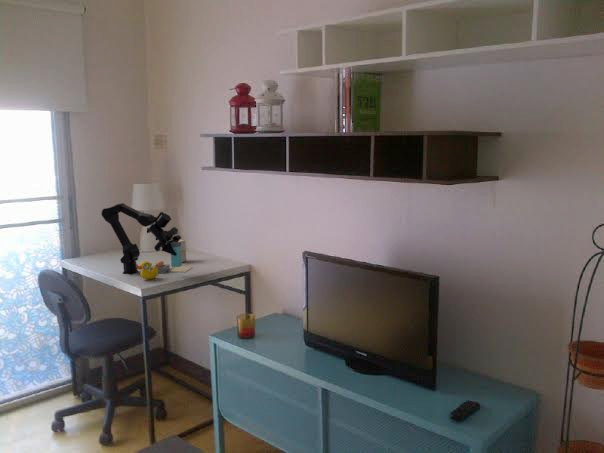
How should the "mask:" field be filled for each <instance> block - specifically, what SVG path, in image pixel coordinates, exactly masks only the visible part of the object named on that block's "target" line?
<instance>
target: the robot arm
mask: <svg viewBox="0 0 604 453" xmlns="http://www.w3.org/2000/svg"><path fill="white" fill-rule="evenodd" d="M119 213H122V214H124V215H126V216H127V217H131V218H132V219H134V220H136V221H137V223H139V224H140V225H141V226H143V227H147V228H146V234H150V233H151V234H152V235H153V236H154V237H155V241H158V242H157V243H156V244H155V245H154V250H155V251H156V252H160V251H161V252H164V253H167V254H170V255H171V254H172V255H174V256H176V255H177V254H176V252H175V251H174V250H173V248H172V247H171V244H170V243H172V242H178V241H179V240H182V237H181V235H180V234H179V233H178V232H179V230H178V228H177V227H175V226H174V227H171V229H170V230H164V229H163V228H166V227H167V225H168V224H169V223H170V222H171V221H172V218H171V216H170V215H169V214H167V213H164V212H163V211H160V212H159V214H158V215H157V216H155V215H153V214H151V213H145V212H141V211H140V210H137V209H134V208H132V207H131V206H128V205H127V204H125V203H122V202H121V203H116V204H115V205H113V206H111V207H106V208H103V209H101V216H102V218H103V219H104V221H105V222H107V223H108V224H109V225H110V226H111V228H112V229H113V231H114V233H115V235H116V237H117V240H118V241H119V243H120V245H121V246H122V255H123V256H122V257H121V258H120V260H119V261H120V263H121V264H122V265H123V272H122V274H125V275H126V274H130V275H133V274H135V273H138V271H139V269H137V267H136V265H138V264H137V261H138V259H139V257H140V254H141V252H140V248H139V247H138V245H137V243H132V242H131V240H130V238H129V236H128V235H127V233H126V230H125V229H124V228H123V225H122V223H121V221H120V218H119V216H120V215H119ZM149 226H150V227H149Z"/></svg>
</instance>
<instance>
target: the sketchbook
mask: <svg viewBox="0 0 604 453" xmlns="http://www.w3.org/2000/svg"><path fill="white" fill-rule="evenodd" d="M191 269H193V267H192V266H180V267H171V268H170V270H168V271H167V273H187V272H188V271H189V270H191Z"/></svg>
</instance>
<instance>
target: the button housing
mask: <svg viewBox="0 0 604 453" xmlns="http://www.w3.org/2000/svg"><path fill="white" fill-rule="evenodd" d="M154 266H156V264H154V265H152V266H151V268H150V270H149V271H152V269H153V267H154ZM157 268H158V274H165V273H166V272H167V271H168V270H170V269H171V265H170V264H165V263H164V266H163V267H157ZM167 273H168V272H167Z"/></svg>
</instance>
